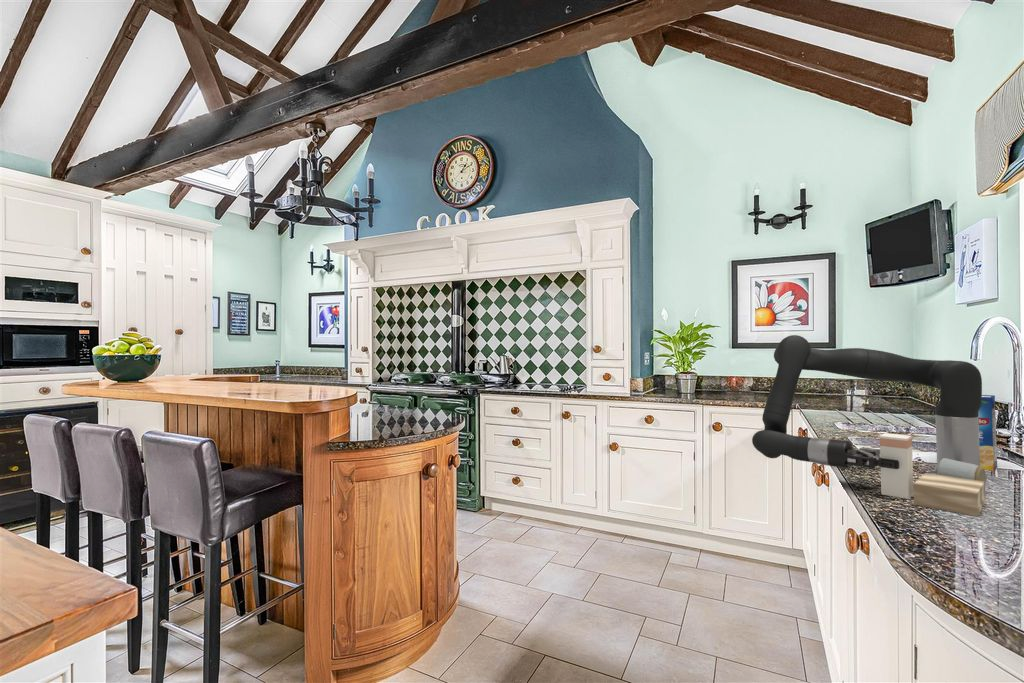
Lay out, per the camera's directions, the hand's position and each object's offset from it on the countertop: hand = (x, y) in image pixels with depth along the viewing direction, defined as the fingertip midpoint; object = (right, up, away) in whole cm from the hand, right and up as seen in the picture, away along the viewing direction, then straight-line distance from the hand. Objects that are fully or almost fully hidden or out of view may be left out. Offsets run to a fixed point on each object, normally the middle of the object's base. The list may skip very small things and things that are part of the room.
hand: (903, 462), depth 121 cm
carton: (-1, -9, +1) cm, 9 cm away
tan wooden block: (+6, -8, -7) cm, 12 cm away
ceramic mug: (+19, -8, +4) cm, 21 cm away
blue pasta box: (+43, -8, +27) cm, 51 cm away
